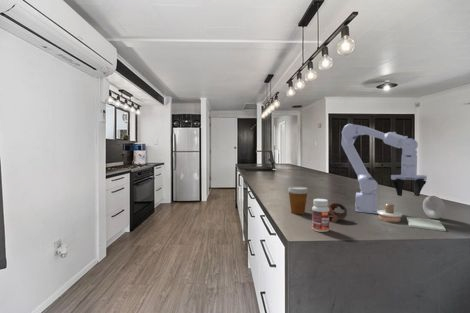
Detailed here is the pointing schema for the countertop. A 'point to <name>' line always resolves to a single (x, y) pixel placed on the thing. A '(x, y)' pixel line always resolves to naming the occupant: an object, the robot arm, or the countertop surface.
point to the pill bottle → (320, 215)
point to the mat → (425, 224)
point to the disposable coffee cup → (298, 199)
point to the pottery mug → (335, 215)
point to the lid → (389, 211)
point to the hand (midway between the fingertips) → (408, 195)
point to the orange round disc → (389, 218)
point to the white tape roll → (438, 207)
